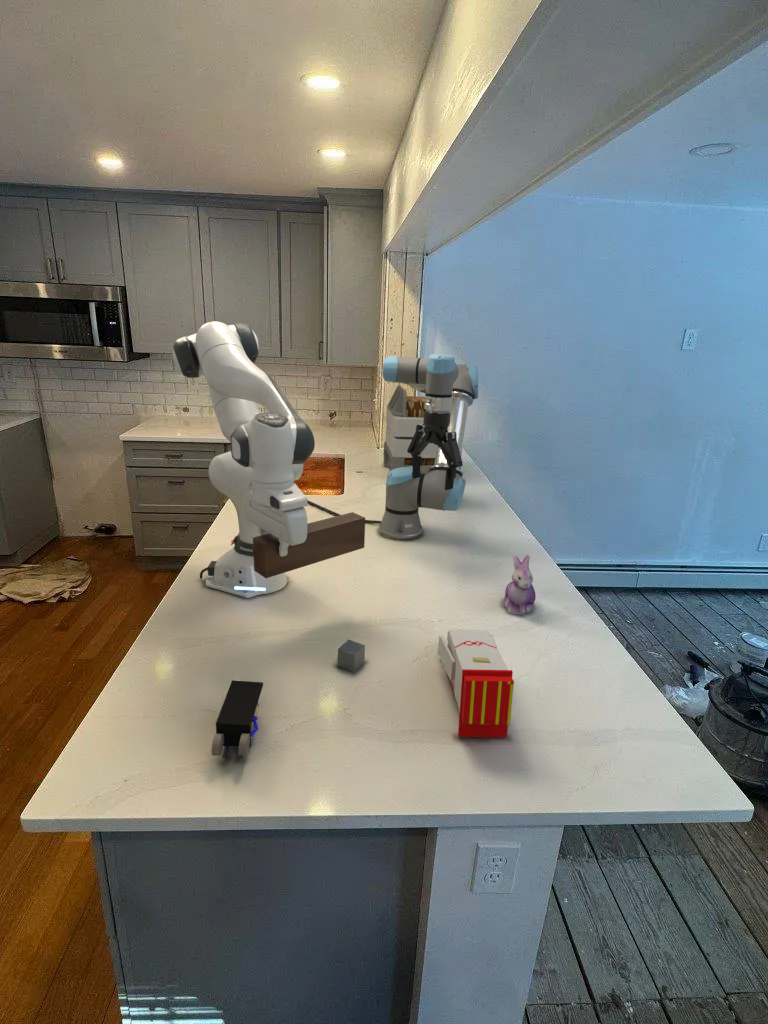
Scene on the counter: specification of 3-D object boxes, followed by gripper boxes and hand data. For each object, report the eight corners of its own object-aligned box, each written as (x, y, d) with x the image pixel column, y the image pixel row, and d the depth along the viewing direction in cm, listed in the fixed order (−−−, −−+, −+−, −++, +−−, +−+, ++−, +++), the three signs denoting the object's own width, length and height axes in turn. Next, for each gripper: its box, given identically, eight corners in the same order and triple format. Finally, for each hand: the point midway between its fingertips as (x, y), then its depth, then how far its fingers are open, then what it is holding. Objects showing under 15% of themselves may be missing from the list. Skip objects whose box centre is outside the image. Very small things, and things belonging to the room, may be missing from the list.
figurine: (518, 619, 147) (525, 567, 142) (493, 601, 156) (499, 551, 151) (545, 612, 151) (553, 561, 146) (520, 595, 160) (527, 546, 155)
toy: (488, 613, 130) (523, 677, 101) (484, 667, 133) (517, 744, 104) (435, 612, 130) (455, 676, 101) (432, 666, 133) (451, 743, 103)
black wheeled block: (251, 773, 97) (266, 707, 110) (248, 742, 94) (264, 678, 107) (211, 773, 97) (231, 707, 110) (207, 741, 93) (228, 677, 107)
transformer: (382, 463, 289) (386, 382, 275) (445, 464, 293) (451, 384, 279) (390, 482, 257) (394, 392, 243) (460, 483, 261) (468, 394, 247)
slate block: (337, 665, 125) (337, 648, 124) (348, 656, 129) (348, 639, 127) (354, 672, 123) (354, 654, 122) (364, 662, 127) (365, 645, 125)
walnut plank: (254, 570, 126) (252, 537, 124) (351, 541, 144) (352, 512, 142) (265, 578, 123) (264, 544, 120) (364, 547, 141) (365, 517, 138)
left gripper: (235, 481, 126) (238, 539, 131) (286, 506, 112) (287, 569, 117) (260, 477, 130) (262, 533, 135) (312, 500, 116) (312, 562, 121)
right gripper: (398, 405, 166) (394, 475, 174) (461, 419, 149) (454, 496, 156) (416, 403, 171) (412, 471, 178) (480, 417, 154) (472, 491, 161)
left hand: (274, 550), depth 125 cm, fingers closed on walnut plank, 5 cm apart
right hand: (432, 483), depth 167 cm, fingers open, 13 cm apart
